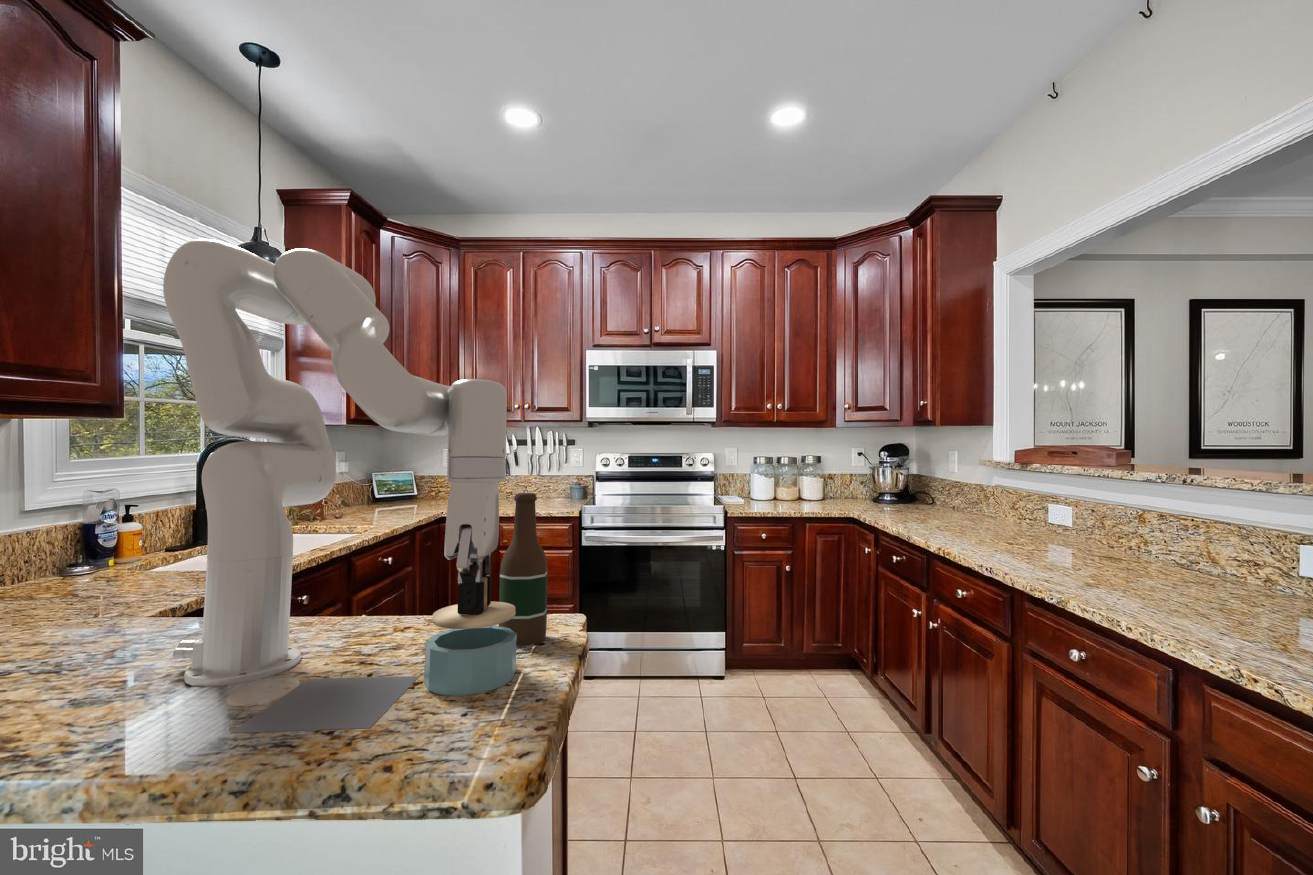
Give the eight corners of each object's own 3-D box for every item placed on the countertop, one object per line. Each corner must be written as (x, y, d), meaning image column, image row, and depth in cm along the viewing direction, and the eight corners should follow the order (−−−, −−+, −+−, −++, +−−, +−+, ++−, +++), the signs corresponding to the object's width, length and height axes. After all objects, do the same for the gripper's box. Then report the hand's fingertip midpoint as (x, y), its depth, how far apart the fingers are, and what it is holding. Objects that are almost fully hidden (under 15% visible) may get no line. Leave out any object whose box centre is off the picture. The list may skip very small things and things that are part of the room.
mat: (229, 736, 54) (229, 732, 54) (308, 682, 68) (308, 679, 68) (370, 731, 55) (370, 727, 55) (419, 679, 69) (419, 675, 69)
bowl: (411, 700, 63) (413, 653, 63) (441, 666, 74) (442, 626, 74) (505, 697, 64) (506, 651, 64) (520, 663, 75) (521, 624, 75)
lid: (420, 630, 63) (421, 588, 64) (446, 608, 74) (447, 572, 74) (507, 627, 64) (508, 586, 65) (521, 605, 75) (521, 570, 75)
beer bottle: (555, 636, 87) (558, 492, 89) (530, 651, 80) (533, 494, 81) (516, 631, 90) (519, 491, 91) (487, 645, 82) (491, 493, 84)
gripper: (465, 471, 78) (463, 596, 77) (426, 471, 62) (423, 629, 61) (516, 471, 79) (514, 594, 78) (491, 471, 63) (488, 627, 61)
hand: (474, 608), depth 69 cm, fingers closed on lid, 3 cm apart
